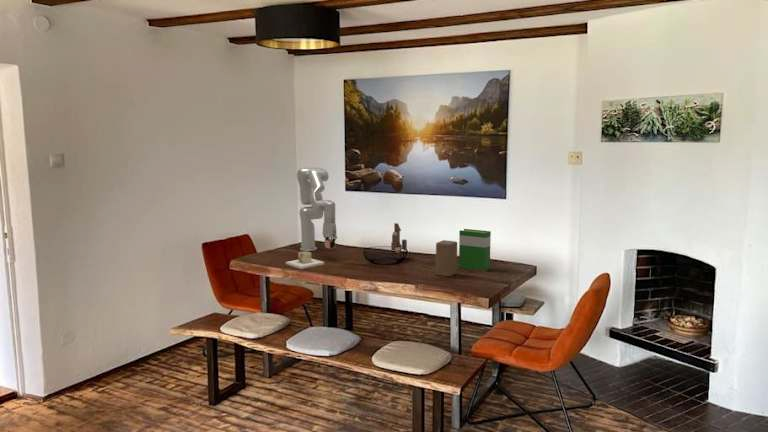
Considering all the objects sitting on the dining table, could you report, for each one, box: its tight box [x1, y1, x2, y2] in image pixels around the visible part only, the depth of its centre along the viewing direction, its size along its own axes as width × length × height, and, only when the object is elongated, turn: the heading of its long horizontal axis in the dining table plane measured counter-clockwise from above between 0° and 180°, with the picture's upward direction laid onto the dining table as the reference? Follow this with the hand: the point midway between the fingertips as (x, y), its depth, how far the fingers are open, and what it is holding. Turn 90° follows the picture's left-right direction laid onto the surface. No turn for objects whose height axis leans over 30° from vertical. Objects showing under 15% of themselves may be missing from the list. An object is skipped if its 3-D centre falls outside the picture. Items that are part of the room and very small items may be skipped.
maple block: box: [297, 251, 312, 263], centre depth 366 cm, size 6×6×6 cm
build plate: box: [285, 257, 325, 270], centre depth 366 cm, size 18×18×2 cm
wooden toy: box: [390, 222, 408, 259], centre depth 375 cm, size 16×7×25 cm, turn 157°
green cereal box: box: [458, 228, 492, 271], centre depth 351 cm, size 18×7×24 cm, turn 57°
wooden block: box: [435, 239, 458, 277], centre depth 336 cm, size 10×10×20 cm
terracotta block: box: [324, 238, 336, 249], centre depth 378 cm, size 5×5×5 cm
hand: (329, 246), depth 378 cm, fingers closed on terracotta block, 5 cm apart
